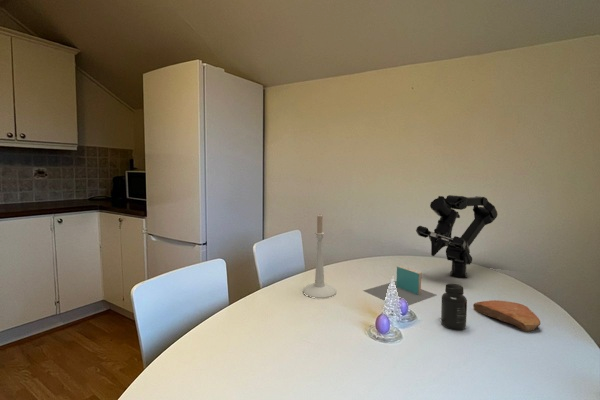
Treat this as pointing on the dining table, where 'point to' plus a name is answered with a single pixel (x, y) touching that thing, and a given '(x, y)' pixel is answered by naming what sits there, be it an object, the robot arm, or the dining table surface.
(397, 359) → the dining table surface
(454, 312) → the supplement bottle
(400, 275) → the tile
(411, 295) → the mat
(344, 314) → the dining table surface
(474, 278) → the dining table surface
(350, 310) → the dining table surface
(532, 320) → the ceramic shard
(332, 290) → the candlestick
